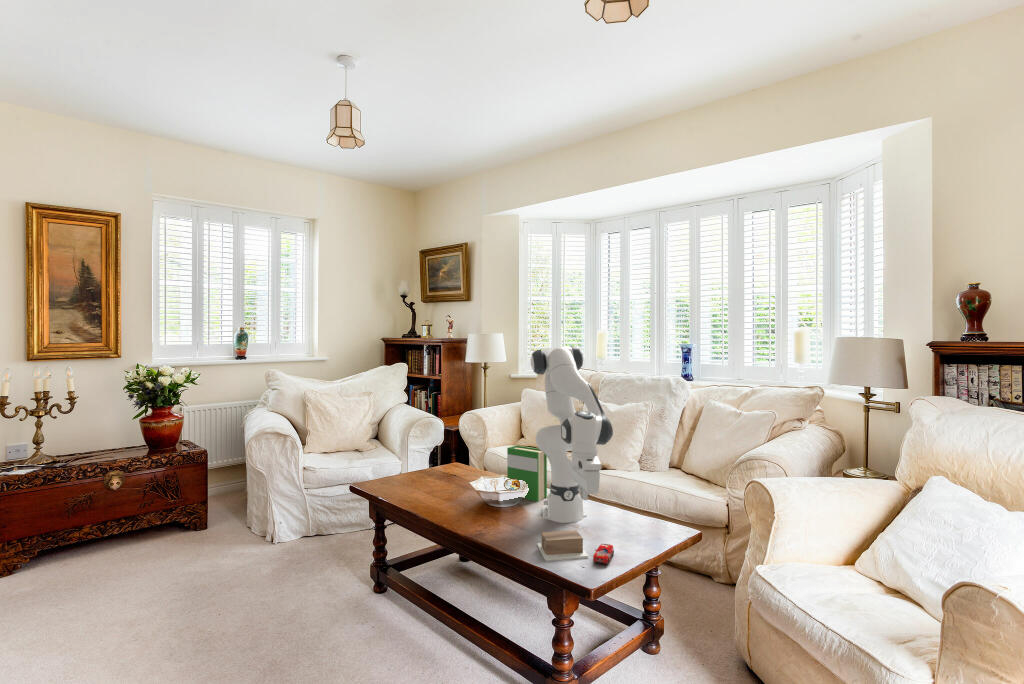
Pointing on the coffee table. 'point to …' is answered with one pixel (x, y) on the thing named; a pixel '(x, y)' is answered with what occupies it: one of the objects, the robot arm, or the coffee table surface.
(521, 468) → the hardback book
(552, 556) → the board
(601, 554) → the race car
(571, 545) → the walnut block
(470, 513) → the coffee table surface
